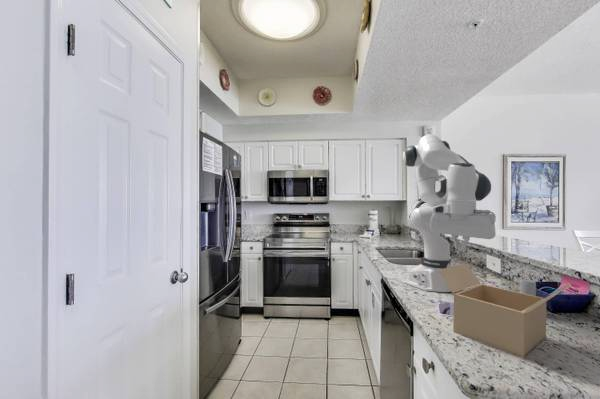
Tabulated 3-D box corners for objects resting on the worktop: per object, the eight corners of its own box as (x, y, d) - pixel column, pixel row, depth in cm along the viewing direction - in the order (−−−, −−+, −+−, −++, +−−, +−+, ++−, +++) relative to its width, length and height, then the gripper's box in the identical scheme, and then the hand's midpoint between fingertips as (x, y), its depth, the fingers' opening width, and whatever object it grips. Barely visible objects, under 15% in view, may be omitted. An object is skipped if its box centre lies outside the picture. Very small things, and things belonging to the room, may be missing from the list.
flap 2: (551, 294, 69) (553, 296, 69) (570, 282, 80) (572, 284, 79) (524, 311, 73) (526, 313, 73) (546, 297, 84) (547, 299, 84)
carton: (453, 331, 88) (453, 293, 88) (480, 317, 99) (481, 283, 99) (523, 358, 73) (524, 313, 73) (546, 337, 84) (546, 298, 84)
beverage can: (538, 315, 101) (539, 282, 101) (523, 314, 102) (524, 281, 102) (530, 310, 106) (530, 279, 106) (516, 309, 107) (516, 278, 107)
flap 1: (465, 263, 103) (464, 263, 103) (439, 269, 92) (437, 270, 92) (480, 282, 99) (479, 283, 99) (454, 292, 88) (453, 293, 88)
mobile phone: (438, 313, 101) (436, 299, 114) (438, 315, 101) (436, 302, 114) (462, 317, 97) (457, 303, 111) (462, 319, 97) (457, 305, 111)
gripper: (499, 210, 89) (498, 253, 89) (437, 207, 106) (436, 243, 106) (491, 210, 85) (490, 255, 85) (428, 207, 102) (427, 245, 102)
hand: (460, 248), depth 96 cm, fingers closed
